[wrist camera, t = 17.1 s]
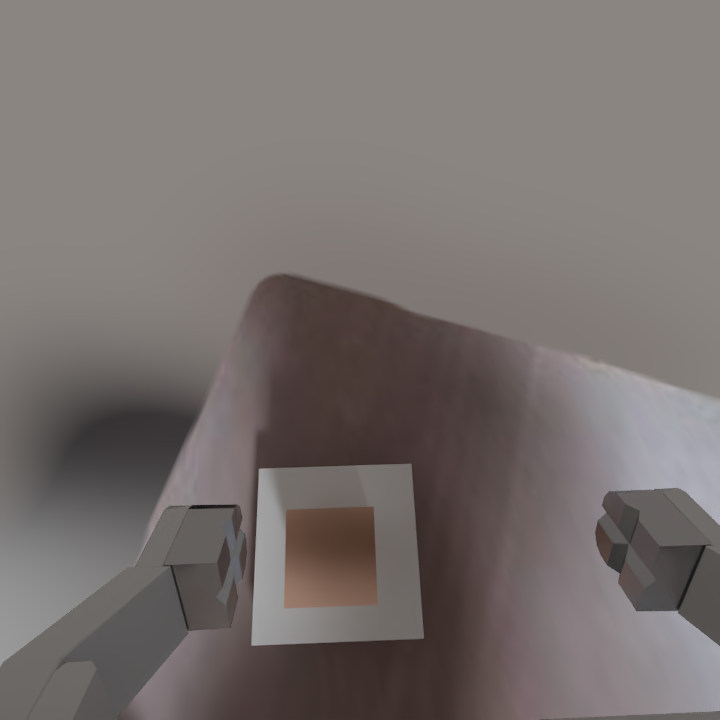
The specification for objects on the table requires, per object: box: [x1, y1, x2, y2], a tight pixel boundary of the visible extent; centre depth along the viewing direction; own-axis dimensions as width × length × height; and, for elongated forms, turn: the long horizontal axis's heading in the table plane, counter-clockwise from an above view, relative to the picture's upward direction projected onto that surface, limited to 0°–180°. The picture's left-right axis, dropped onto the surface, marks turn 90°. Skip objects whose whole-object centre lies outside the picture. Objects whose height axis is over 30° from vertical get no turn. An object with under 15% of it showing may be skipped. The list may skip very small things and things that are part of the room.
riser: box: [251, 464, 424, 646], centre depth 35 cm, size 12×12×4 cm
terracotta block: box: [284, 507, 378, 608], centre depth 29 cm, size 5×5×9 cm
